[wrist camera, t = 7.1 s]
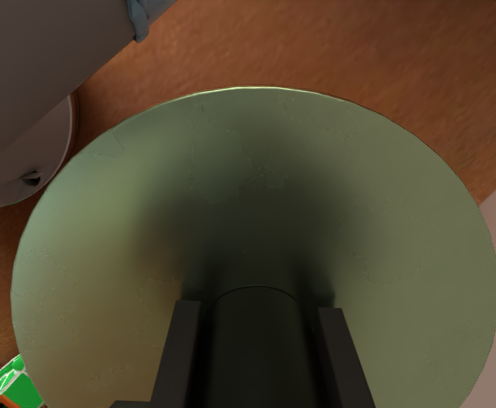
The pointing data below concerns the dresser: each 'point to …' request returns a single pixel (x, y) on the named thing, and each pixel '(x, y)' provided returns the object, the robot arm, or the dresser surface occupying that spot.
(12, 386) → the toy car
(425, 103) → the dresser surface
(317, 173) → the lid
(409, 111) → the dresser surface
